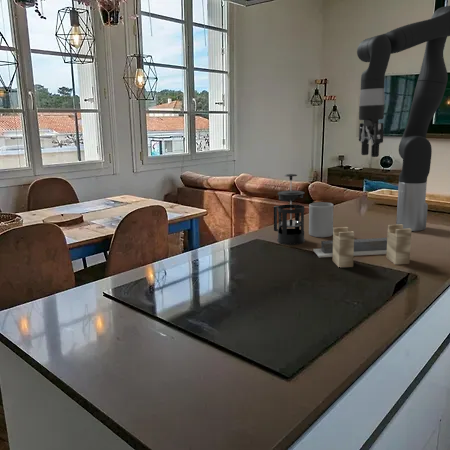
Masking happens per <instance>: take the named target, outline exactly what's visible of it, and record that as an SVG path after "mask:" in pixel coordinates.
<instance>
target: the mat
mask: <svg viewBox="0 0 450 450" xmlns="http://www.w3.org/2000/svg"><path fill="white" fill-rule="evenodd" d="M312 249H313V250H312V251H313V252H314V253H315V255H317V257H318V258H333V253H323V252H322V251H321V248H312ZM386 253H387V250H376V251H358V252H354V255H353V257H358V256H370V255H371V256H372V255H373V256H374V255H386Z"/></svg>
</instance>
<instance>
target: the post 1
mask: <svg viewBox="0 0 450 450" xmlns="http://www.w3.org/2000/svg"><path fill="white" fill-rule="evenodd" d="M354 239H355V231H353V230H352V231H349V227H348V226H339V227H337V226H336V227H333V235H332V241H333V257H332V262H333V264H335V265H336V266H337V267H338V268H339V267H340V268H353V267H354V256H353V255H354Z"/></svg>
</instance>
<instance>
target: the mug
mask: <svg viewBox="0 0 450 450" xmlns="http://www.w3.org/2000/svg"><path fill="white" fill-rule="evenodd" d="M308 206H309V207H308V235H309V236H311V237H315V238H329V237H333V228H334V203H332V202H323V201H322V202H321V201H319V202H318V201H317V202H312V203H309V205H308Z"/></svg>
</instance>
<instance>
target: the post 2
mask: <svg viewBox="0 0 450 450" xmlns="http://www.w3.org/2000/svg"><path fill="white" fill-rule="evenodd" d="M411 230H412V229H410V228H407V229H403V225H402V224H396V223H395V224H388V225H387V234H386V235H387V236H386V238H387V253H386V254H385V255H386V259H387V260H388V261H390V262H392V263H393V264H394V265H410V258H411V257H410V256H411V243H412V242H411V241H412V231H411Z"/></svg>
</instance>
